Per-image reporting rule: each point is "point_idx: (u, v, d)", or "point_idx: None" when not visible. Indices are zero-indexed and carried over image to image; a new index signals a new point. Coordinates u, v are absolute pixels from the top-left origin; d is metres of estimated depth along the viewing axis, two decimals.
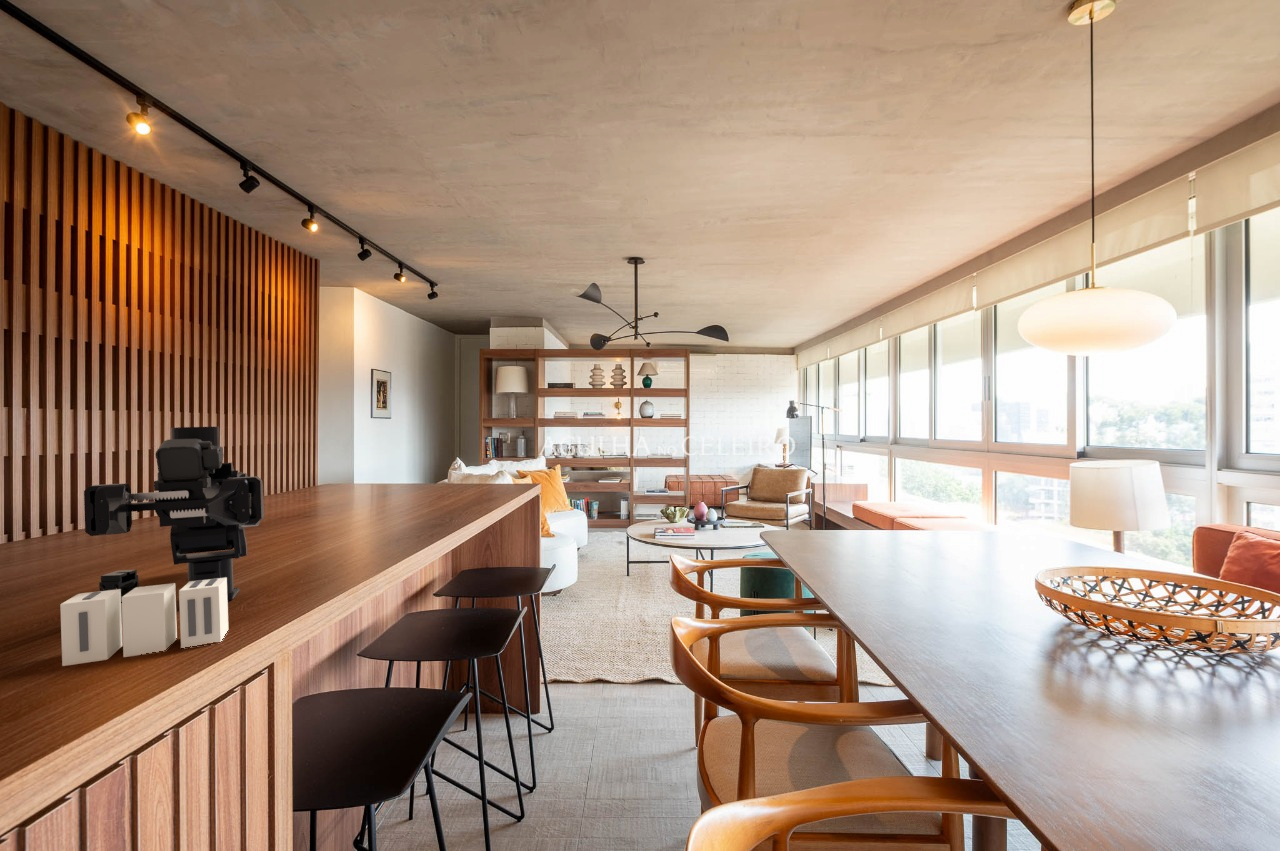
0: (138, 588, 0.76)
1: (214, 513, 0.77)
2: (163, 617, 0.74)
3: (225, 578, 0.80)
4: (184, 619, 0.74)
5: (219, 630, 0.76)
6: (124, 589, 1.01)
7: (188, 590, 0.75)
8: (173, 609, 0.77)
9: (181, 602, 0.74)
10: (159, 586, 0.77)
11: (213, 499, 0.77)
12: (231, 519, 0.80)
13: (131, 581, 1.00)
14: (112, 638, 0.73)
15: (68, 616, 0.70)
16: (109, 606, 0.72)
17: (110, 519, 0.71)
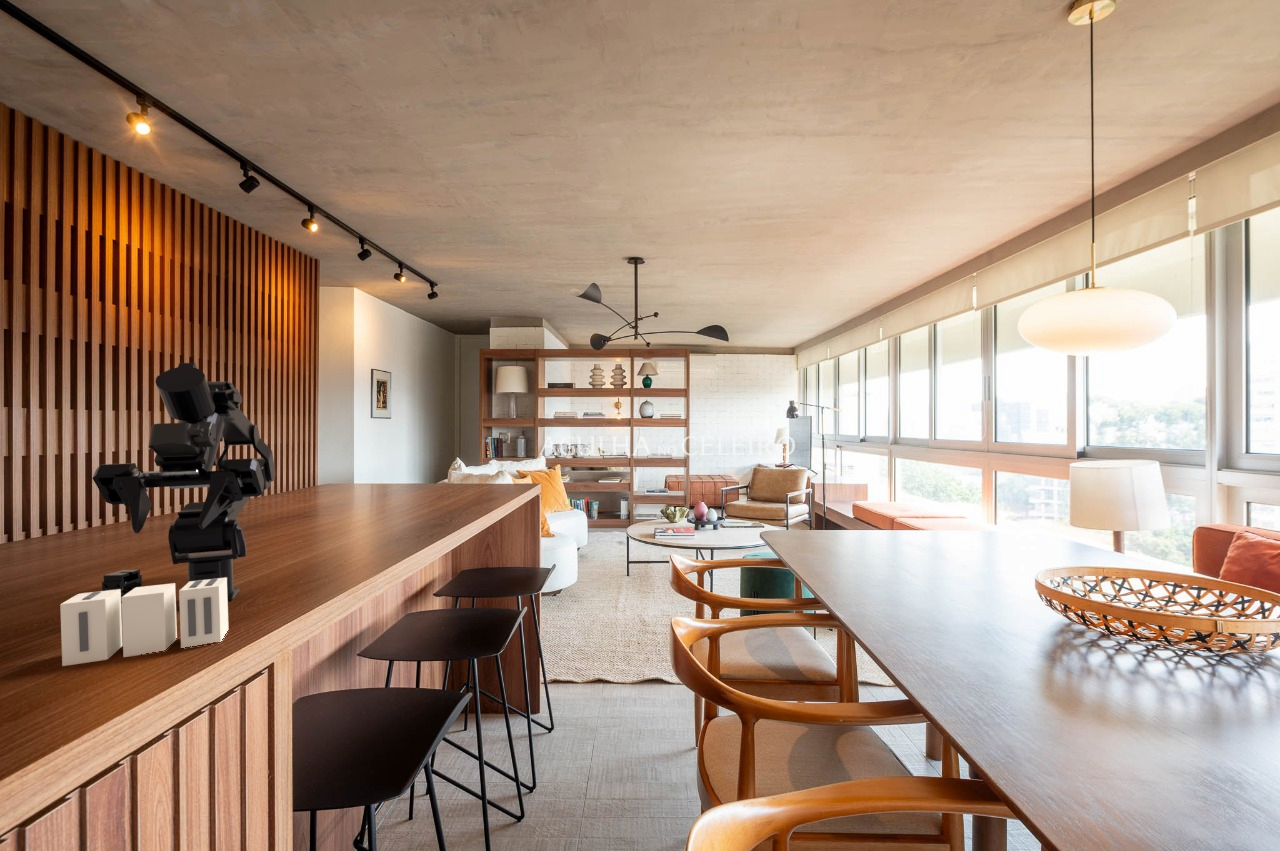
0: (138, 588, 0.76)
1: (209, 522, 0.84)
2: (163, 617, 0.74)
3: (225, 578, 0.80)
4: (184, 619, 0.74)
5: (219, 630, 0.76)
6: (128, 589, 1.01)
7: (188, 590, 0.75)
8: (173, 609, 0.77)
9: (181, 602, 0.74)
10: (159, 586, 0.77)
11: (205, 510, 0.83)
12: (226, 507, 0.88)
13: (134, 581, 1.00)
14: (112, 638, 0.73)
15: (68, 616, 0.70)
16: (109, 606, 0.72)
17: (135, 533, 0.80)
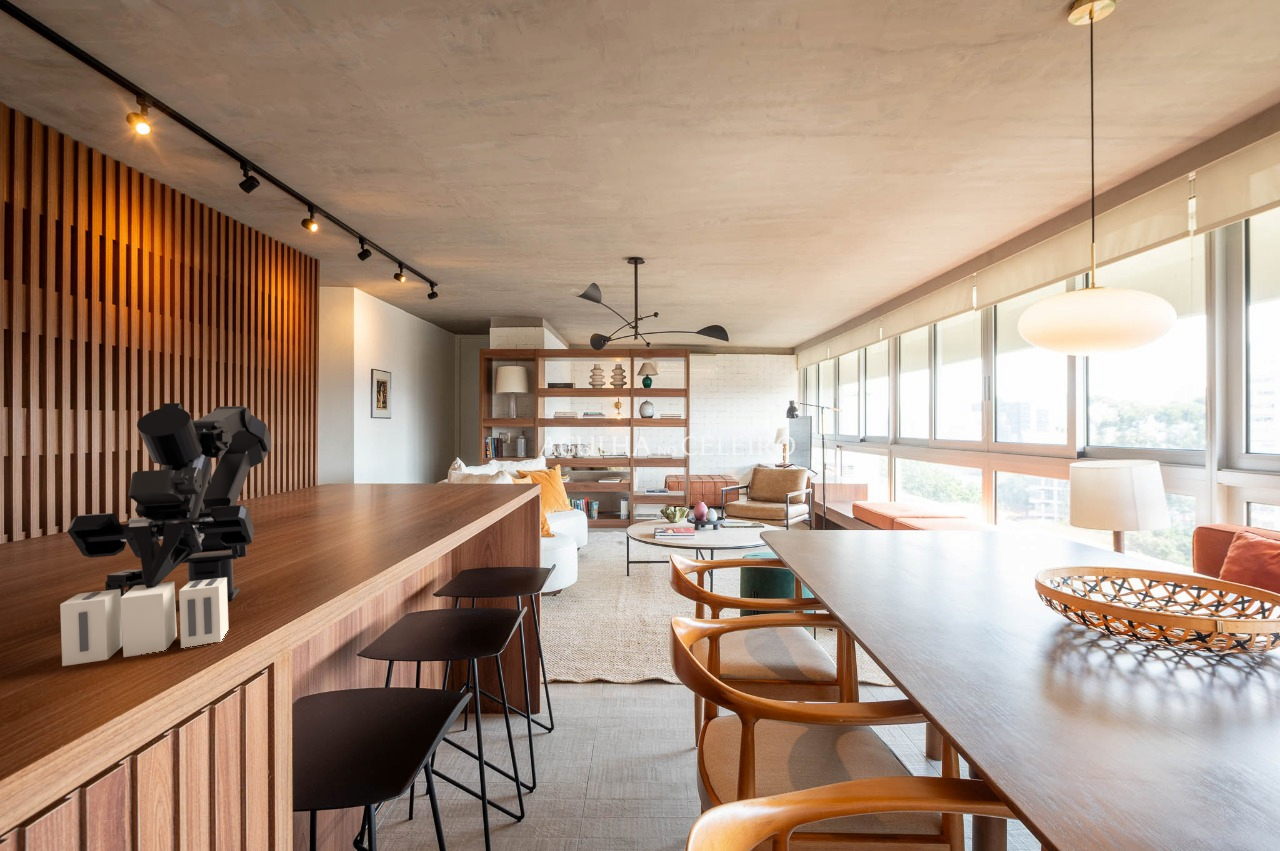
0: (137, 587, 0.76)
1: (161, 580, 0.77)
2: (162, 617, 0.74)
3: (225, 578, 0.80)
4: (184, 619, 0.74)
5: (219, 630, 0.76)
6: None
7: (188, 590, 0.75)
8: (172, 608, 0.77)
9: (181, 602, 0.74)
10: (158, 585, 0.76)
11: (156, 566, 0.76)
12: (182, 560, 0.80)
13: (137, 581, 1.00)
14: (112, 638, 0.73)
15: (68, 616, 0.70)
16: (109, 606, 0.72)
17: (147, 587, 0.75)
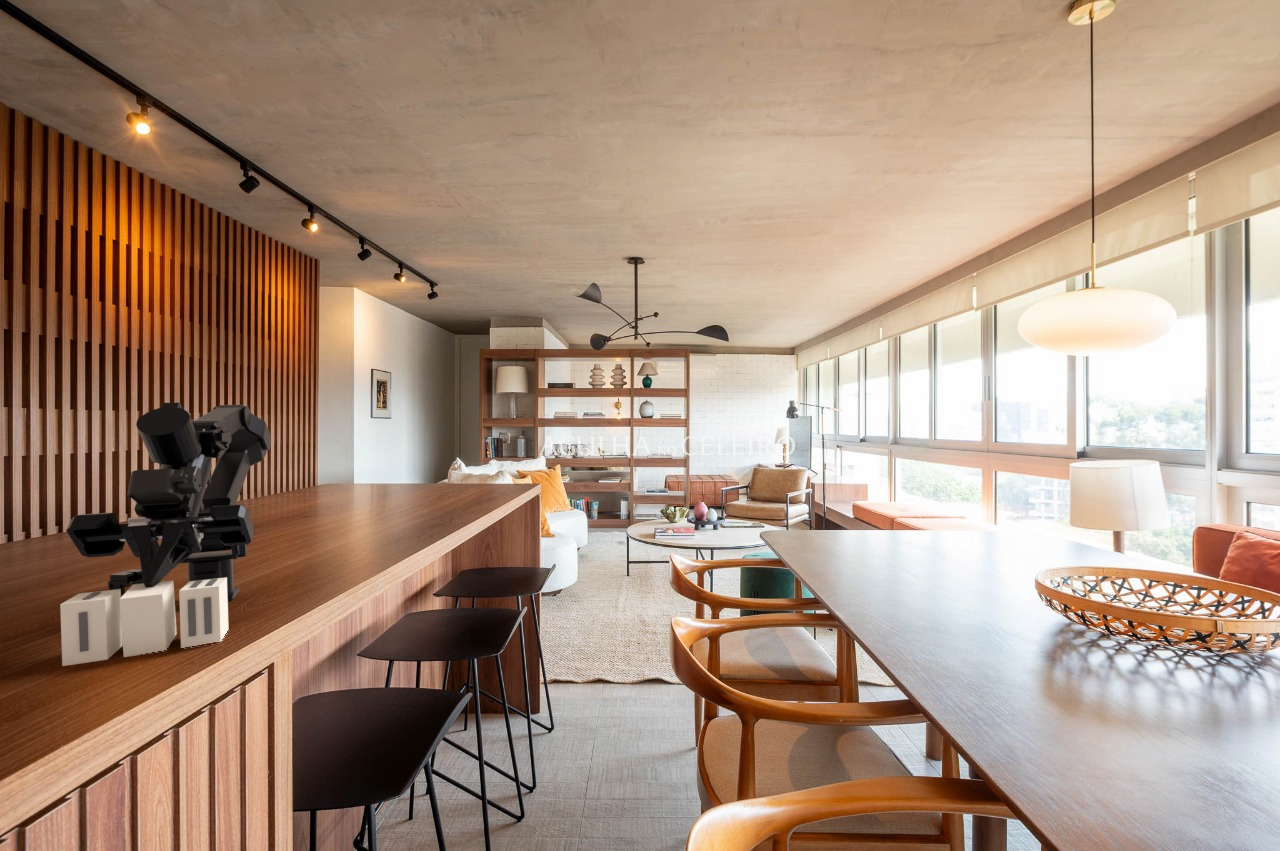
0: (136, 586, 0.75)
1: (160, 579, 0.76)
2: (162, 618, 0.73)
3: (225, 578, 0.80)
4: (184, 619, 0.74)
5: (219, 630, 0.76)
6: None
7: (188, 590, 0.75)
8: (172, 607, 0.77)
9: (181, 602, 0.74)
10: (157, 584, 0.76)
11: (156, 566, 0.76)
12: (181, 560, 0.80)
13: (139, 581, 0.99)
14: (112, 638, 0.73)
15: (68, 616, 0.70)
16: (109, 606, 0.72)
17: None
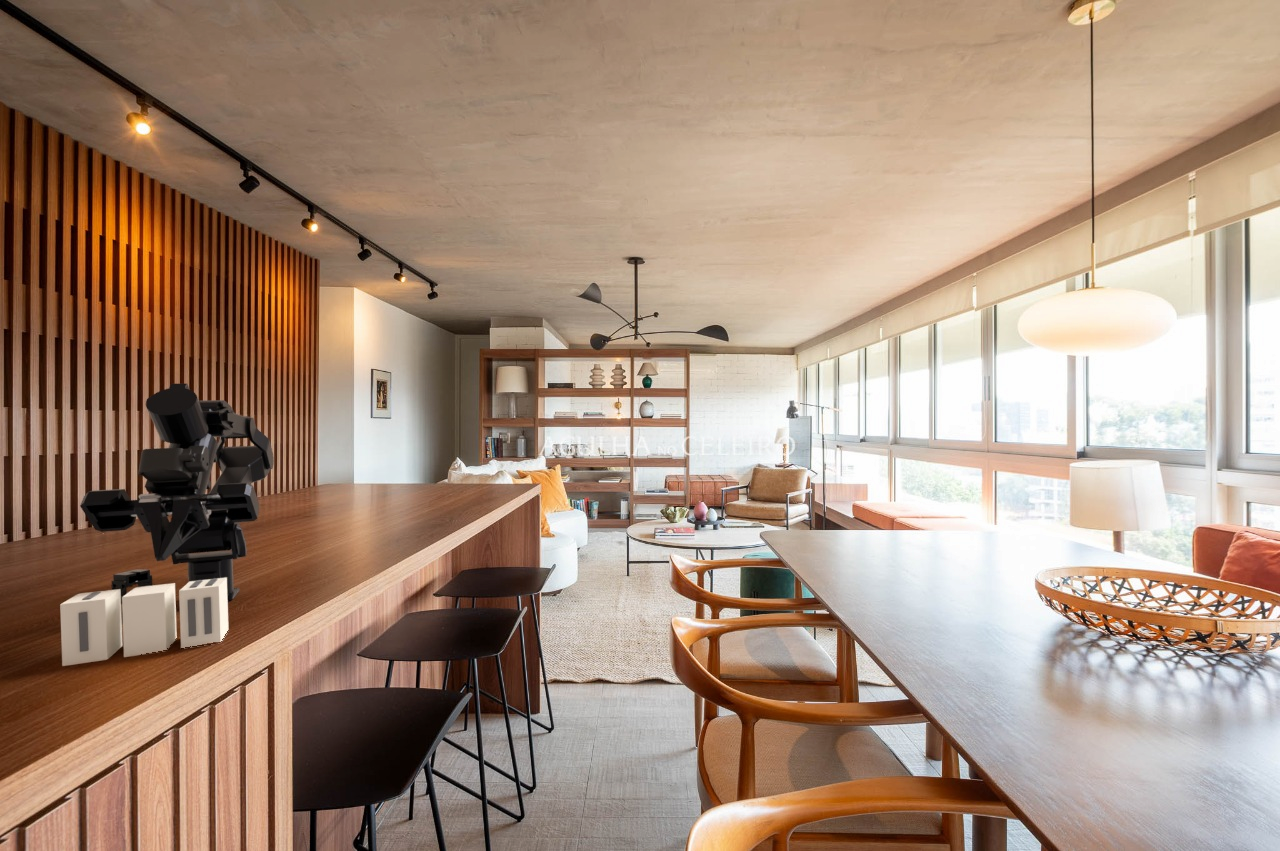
0: (138, 588, 0.76)
1: (170, 553, 0.80)
2: (164, 617, 0.74)
3: (225, 578, 0.80)
4: (184, 619, 0.74)
5: (219, 630, 0.76)
6: None
7: (188, 590, 0.75)
8: (173, 609, 0.77)
9: (181, 602, 0.74)
10: (159, 586, 0.77)
11: (166, 541, 0.79)
12: (190, 535, 0.83)
13: (142, 581, 0.99)
14: (112, 638, 0.73)
15: (68, 616, 0.70)
16: (109, 606, 0.72)
17: (158, 560, 0.78)
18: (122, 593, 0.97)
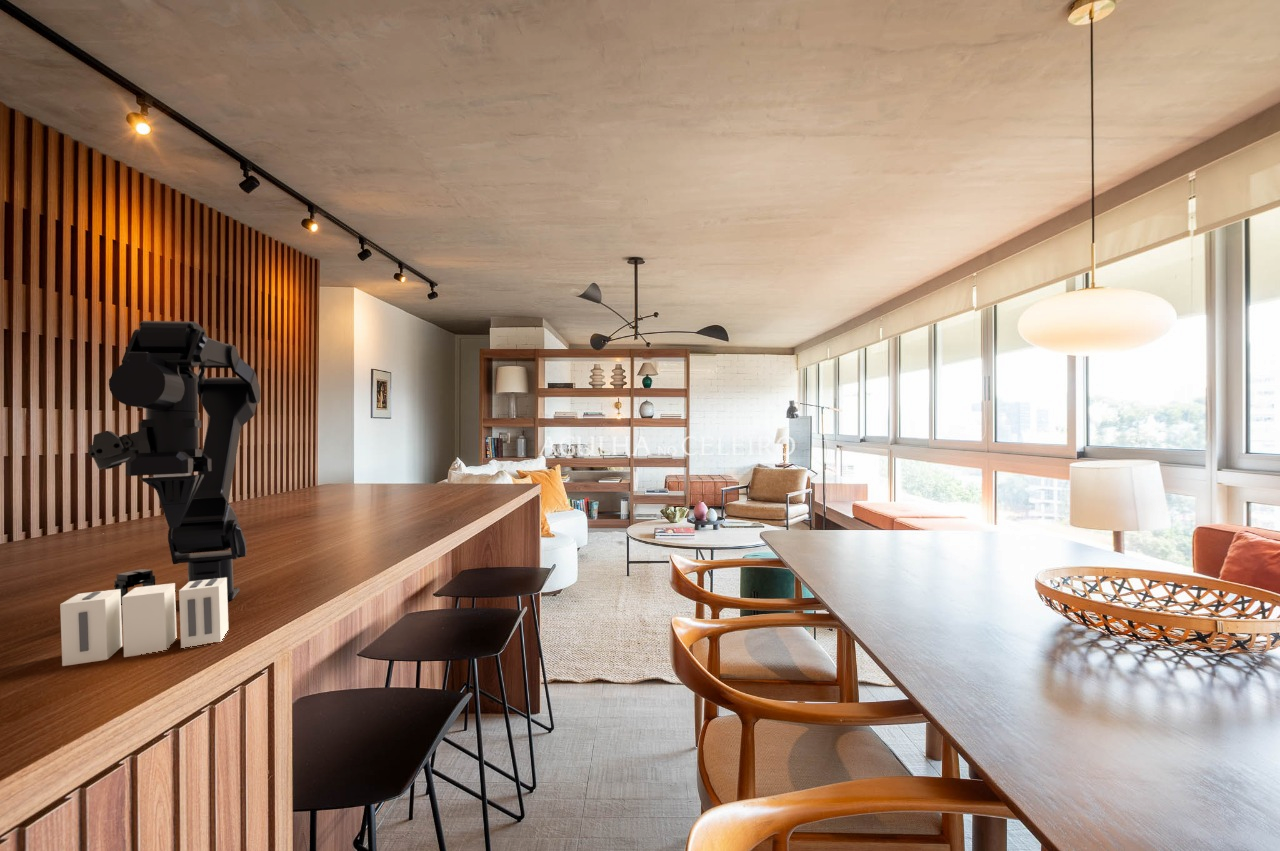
0: (138, 588, 0.76)
1: (179, 518, 0.84)
2: (163, 617, 0.74)
3: (225, 578, 0.80)
4: (184, 619, 0.74)
5: (219, 630, 0.76)
6: None
7: (188, 590, 0.75)
8: (173, 609, 0.77)
9: (181, 602, 0.74)
10: (159, 586, 0.77)
11: None
12: (189, 491, 0.83)
13: (144, 581, 0.99)
14: (112, 638, 0.73)
15: (68, 616, 0.70)
16: (109, 606, 0.72)
17: (178, 526, 0.84)
18: (123, 593, 0.97)
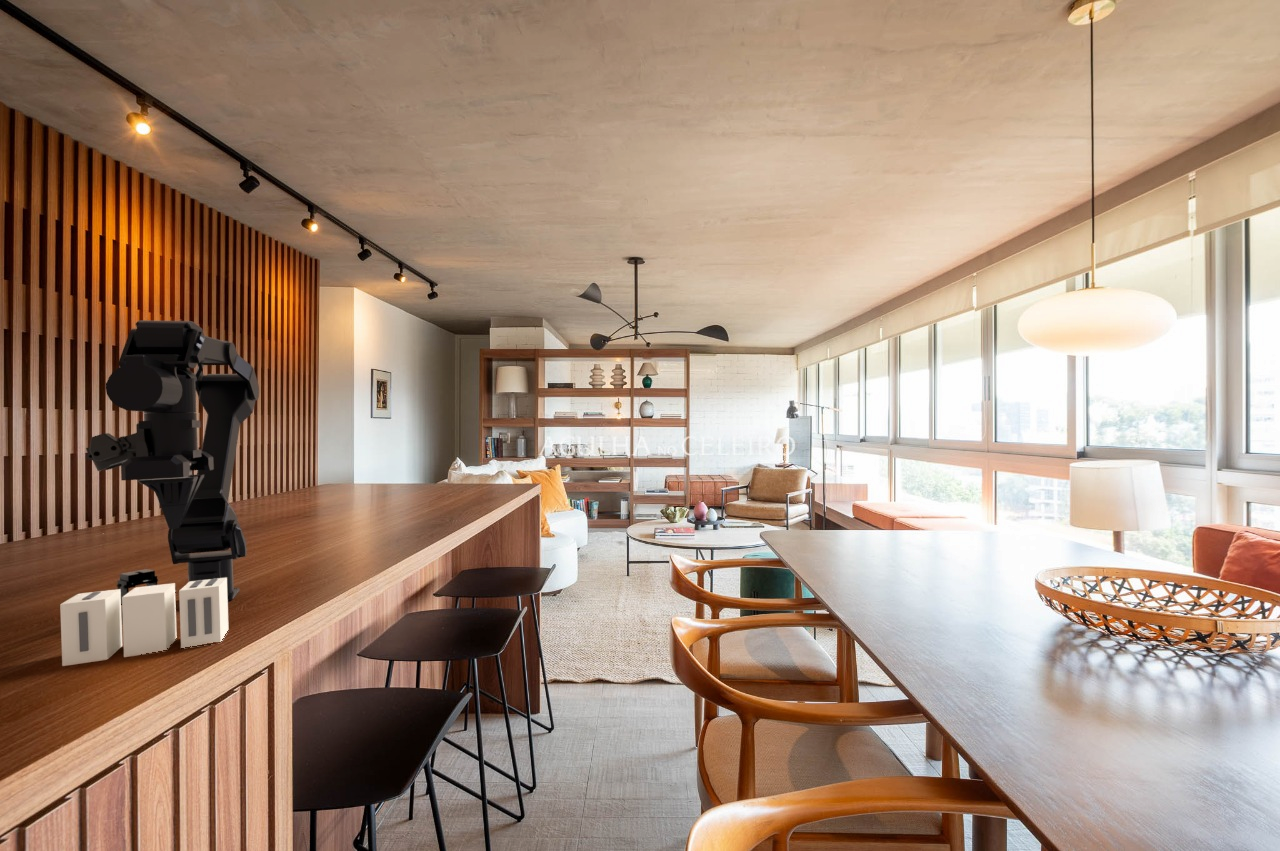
0: (138, 588, 0.76)
1: (179, 519, 0.84)
2: (163, 617, 0.74)
3: (225, 578, 0.80)
4: (184, 619, 0.74)
5: (219, 630, 0.76)
6: None
7: (188, 590, 0.75)
8: (173, 609, 0.77)
9: (181, 602, 0.74)
10: (159, 586, 0.77)
11: None
12: (188, 492, 0.83)
13: (146, 582, 0.99)
14: (112, 638, 0.73)
15: (68, 616, 0.70)
16: (109, 606, 0.72)
17: (179, 527, 0.84)
18: (125, 593, 0.97)
